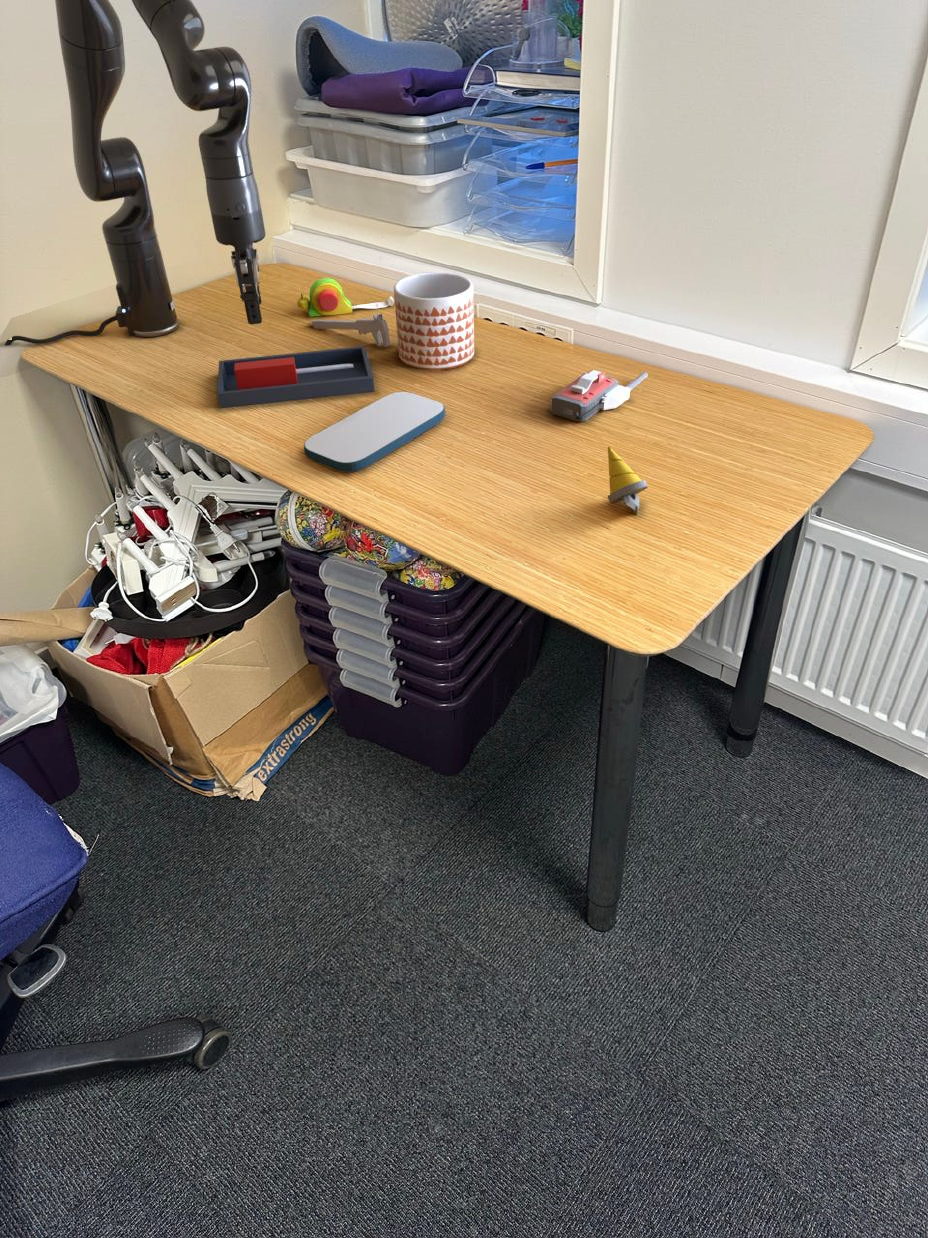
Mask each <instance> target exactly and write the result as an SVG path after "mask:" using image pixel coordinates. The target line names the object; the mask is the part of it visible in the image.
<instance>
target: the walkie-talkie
mask: <svg viewBox="0 0 928 1238" xmlns="http://www.w3.org/2000/svg"><path fill="white" fill-rule="evenodd" d="M648 376H649V375H648V372H643V373H641V374H639V376H637V377H635V379H633V380H632V381H631V382H629V383H628V384H627V385H620V384H619V381H618V380H616V379H615V378H612V377H608V376H606V373H605V372H603V371H599V370H596V369H595V370H594V369H590V370H589V371H587V372H586V373H583V374H581V375H580V376H578V377H577V378H576V379H574V380H573V381H571V382H570V383H569V384H568V385H566V386H564V387H563V388H562V389H560V390H559V391H558V392H557V393H555V394H554V395H552V396H551V399H550V400H551V402H550V412H551V414H553V415H554V416H558V417H561V418H565V419H567V420H568V419H569V420H572V421H575V422H578V423H582V422H587V421H588V420H589V419H591V418H592V417H593V416H594V415H595V414H597V413H598V412H599V411H600V410H602V411H607V410H612V409H617V408H618V407H619V406H620V405H622V404H623V403H624V402H626V401H628V400H630V395H631V394H630V393H631V391H632V390H633V389H634V388H636V387H637V386H639V385H640V384H641V382H643V381H644V380H645V379H646V378H647V377H648Z"/></svg>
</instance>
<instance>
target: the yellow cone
mask: <svg viewBox="0 0 928 1238" xmlns="http://www.w3.org/2000/svg"><path fill="white" fill-rule="evenodd" d="M607 458H608V461H607V462H608V476H609V477H608V478H609V495H608V496H607V499H608V501H609V503H610V504H616V503H619V502H622V501H623V503H624V505H626V506H627V507H629V508H631V510H632V512H634V513H635V514H636V515H638V514H639V508H640V498H639V495H638V494H640V493H641V492H643V491H645V490H646V489H648V488H649V486H648V484H647V481H646V479H641V478H640V477H639V476H638V475H637V474H636V473H635V472H634V470H632V468H630V466H629V465H628V464H626V462H625V461H624V460H623V459H622V458H621V457H620V456H619V455H618V454H617V453H616V452H615V451H614V450H613V449H612V448H611V447H610V446H607Z"/></svg>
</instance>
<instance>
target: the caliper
mask: <svg viewBox="0 0 928 1238" xmlns="http://www.w3.org/2000/svg"><path fill="white" fill-rule="evenodd" d="M372 317H373V318H358V319H355V320H345V319H344V320H342V319H314V320H312V321H311V322H310V323H309V324H308V326H309V327H313V329H318V330H319V329H320V330H343V331H344V330H345V331H346V330H347V331H357V332H358V334H359V335H367V334H371V335H372V338H373V340H374V342H375V344H376V346H378V347H379V346H381V345H383V347H384V348H388V347H390V345H391V342H390V341H391V339H390V331H389V327H388V324H387V320H386V319H384V317H383V314H382V312H381V313H377V312H376V313H374V314H372Z"/></svg>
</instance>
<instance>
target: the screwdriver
mask: <svg viewBox="0 0 928 1238" xmlns="http://www.w3.org/2000/svg"><path fill="white" fill-rule="evenodd" d="M349 368H353V364H341V365H331V366H321V367H312V368H302V369H296V367H295V361H294V357H290V358H280V359H270V360H260V361H251V362H241V363H235V364H234V371H235V376H236V381H237V386H238V390H243V389H253V388H262V387H271V386H281V385H290V384H298V380H297V374H301V373H311V372H320V371H330V370H339V369H349Z"/></svg>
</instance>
